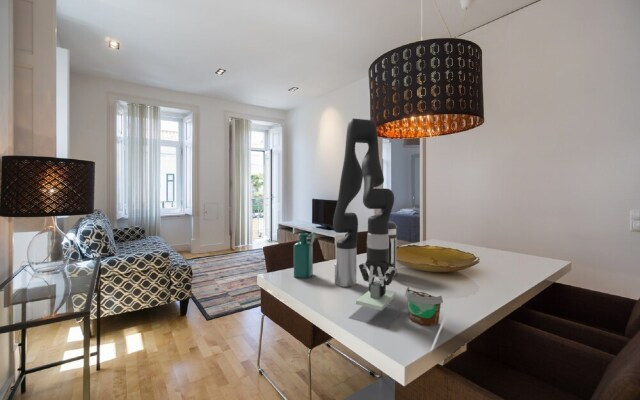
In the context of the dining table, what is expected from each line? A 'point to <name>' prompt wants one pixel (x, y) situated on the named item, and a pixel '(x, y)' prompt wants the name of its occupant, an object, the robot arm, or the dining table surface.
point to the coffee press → (392, 245)
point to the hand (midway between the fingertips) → (377, 294)
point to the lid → (376, 297)
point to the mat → (378, 315)
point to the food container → (423, 307)
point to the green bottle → (303, 256)
